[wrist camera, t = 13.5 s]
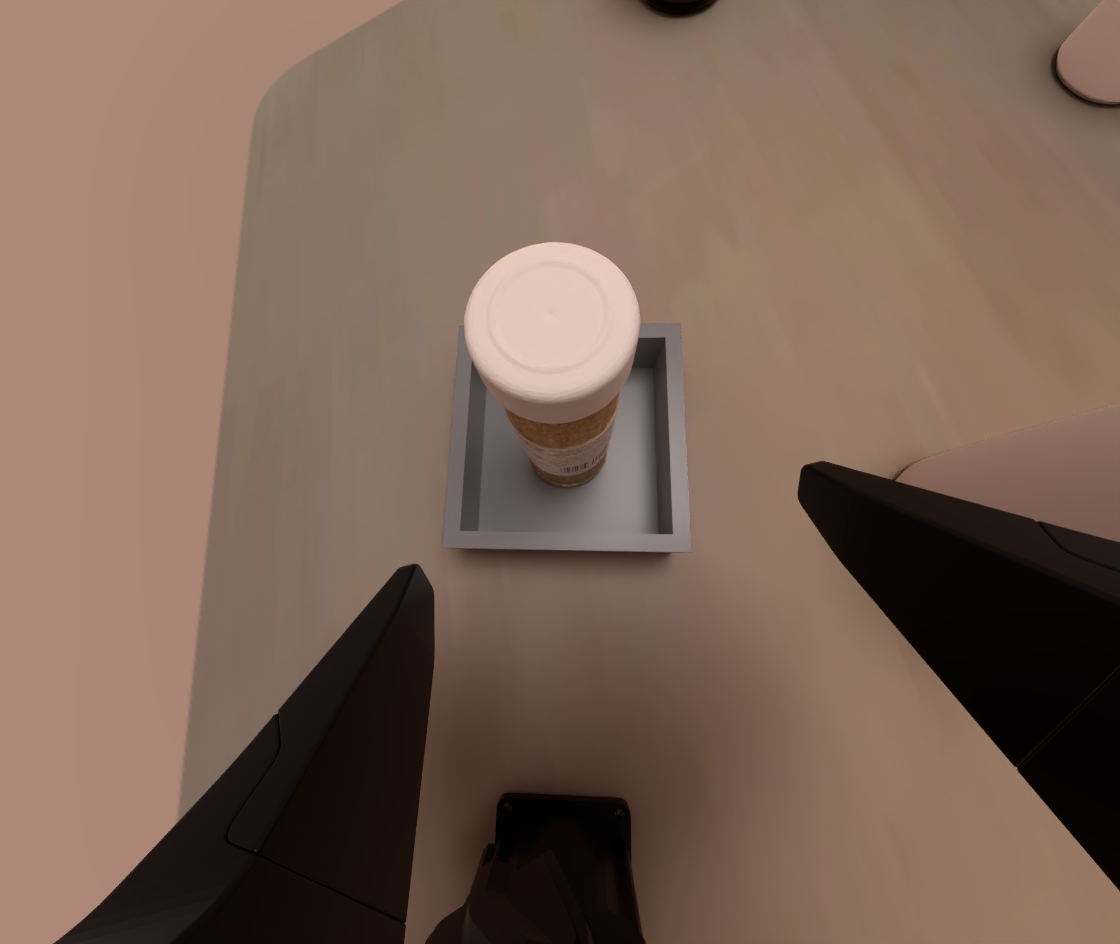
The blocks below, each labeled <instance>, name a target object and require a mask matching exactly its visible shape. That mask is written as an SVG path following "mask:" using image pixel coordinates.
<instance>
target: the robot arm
mask: <svg viewBox="0 0 1120 944" xmlns="http://www.w3.org/2000/svg"><path fill="white" fill-rule="evenodd" d="M798 500H799V502H800V504H801V506H802V507H803V509H804V510H805V512H806V513H807V514H808V516H809V517H810V519H811V520H812V522H813V523H814V525H815V526H816V528H817V529H818V531H819V532H820V534H821V535H822V536H823V538H824V539H825V541H826V542H827V544H828V545H829V547H830V548H831V550H832V551H833V552H834V554H835V555H836V556H837V558H838V559H839V560H840V561H841V563H842V564H843V565H844V566H845V568H846V569H847V570H848V571H849V572H850V574H851V575H852V576H853V577H854V578H855V579H856V581H857V582H858V583H859V584H860V585H861V586H862V588H863V589H864V590H865V591H866V592H867V594H868V595H869V596H870V597H871V598H872V599H873V601H874V602H875V603H876V604H877V605H878V606H879V608H880V609H881V610H882V611H883V612H884V614H885V615H886V616H887V617H888V618H889V619H890V621H891V622H892V623H893V624H894V625H895V627H896V628H897V629H898V630H899V631H900V632H901V634H902V635H903V636H904V637H905V638H906V639H907V641H908V642H909V643H910V644H911V645H912V647H913V648H914V649H915V650H916V651H917V652H918V654H919V655H920V656H921V657H922V658H923V659H924V661H925V662H926V663H927V664H928V665H929V667H930V668H931V669H932V670H933V671H934V672H935V674H936V675H937V676H938V677H939V678H940V680H941V681H942V682H943V683H944V684H945V685H946V687H947V688H948V689H949V690H950V691H951V692H952V694H953V695H954V696H955V697H956V698H957V700H958V701H959V702H960V703H961V704H962V705H963V707H964V708H965V709H966V710H967V711H968V712H969V714H970V715H971V716H972V717H973V718H974V720H975V721H976V722H977V723H978V724H979V725H980V727H981V728H982V729H983V730H984V731H985V733H986V734H987V735H988V736H989V737H990V738H991V740H992V741H993V742H994V743H995V744H996V745H997V747H998V748H999V749H1000V750H1001V751H1002V753H1003V754H1004V755H1005V756H1006V757H1007V758H1008V760H1009V761H1010V762H1011V763H1012V764H1013V765H1014V766H1015V767H1017V770H1018V772H1019V773H1020V774H1021V775H1022V777H1023V778H1024V779H1025V780H1026V781H1027V782H1028V784H1029V785H1030V786H1031V787H1032V788H1033V790H1034V791H1035V792H1036V793H1037V794H1038V795H1039V797H1040V798H1041V799H1042V800H1043V801H1044V802H1045V804H1046V805H1047V806H1048V807H1049V808H1050V810H1051V811H1052V812H1053V813H1054V814H1055V815H1056V817H1057V818H1058V819H1059V820H1060V821H1061V822H1062V824H1063V825H1064V826H1065V827H1066V828H1067V830H1068V831H1069V832H1070V833H1071V834H1072V835H1073V837H1074V838H1075V839H1076V840H1077V841H1078V842H1079V844H1080V845H1081V846H1082V847H1083V848H1084V850H1085V851H1086V852H1087V853H1088V854H1089V855H1090V857H1091V858H1092V859H1093V860H1094V861H1095V862H1096V864H1097V865H1098V866H1099V867H1100V868H1101V870H1102V871H1103V872H1104V873H1105V874H1106V875H1107V877H1108V878H1109V879H1110V880H1111V881H1112V883H1113V884H1114V885H1115V886H1116V887H1117V888H1118V890H1119V891H1120V542H1117V541H1113V540H1109V539H1105V538H1102V537H1098V536H1094V535H1090V534H1086V533H1083V532H1079V531H1075V530H1071V529H1068V528H1064V527H1060V526H1057V525H1053V524H1050V523H1046V522H1043V521H1037V522H1036V521H1035V520H1034V519H1031V518H1028V517H1024V516H1021V515H1017V514H1013V513H1010V512H1006V511H1002V510H999V509H995V508H992V507H988V506H984V505H981V504H977V503H973V502H970V501H966V500H963V499H959V498H955V497H952V496H948V495H945V494H941V493H937V492H934V491H930V490H926V489H923V488H919V487H916V486H912V485H908V484H905V483H901V482H897V481H894V480H890V479H887V478H883V477H879V476H876V475H872V474H869V473H865V472H861V471H858V470H854V469H851V468H847V467H843V466H840V465H836V464H832V463H829V462H825V461H818V462H814V463H810V464H807V465H805V466H803V468H802V469H801V474H800V480H799V487H798ZM434 651H435V639H434V591H433V588H432V586H431V584H430V582H429V580H428V579H427V577H426V575H425V573H424V572H423V570H422V568H421V567H420V566H419V565H418V564H411V565H407V566H403V567H400V568H399V569H398V570H397V571H396V572H395V573H394V574H393V575H392V576H391V578H390V579H389V580H388V581H387V582H386V584H385V585H384V586H383V587H382V588H381V589H380V591H379V592H378V593H377V594H376V595H375V597H374V598H373V599H372V600H371V601H370V602H369V604H368V605H367V606H366V607H365V608H364V610H363V611H362V612H361V613H360V614H359V615H358V617H357V618H356V619H355V620H354V621H353V623H352V624H351V625H350V626H349V627H348V628H347V630H346V631H345V632H344V633H343V634H342V636H341V637H340V638H339V639H338V640H337V641H336V643H335V644H334V645H333V646H332V647H331V649H330V650H329V651H328V652H327V653H326V654H325V656H324V657H323V658H322V659H321V660H320V662H319V663H318V664H317V665H316V666H315V667H314V669H313V670H312V671H311V672H310V673H309V675H308V676H307V677H306V678H305V679H304V680H303V682H302V683H301V684H300V685H299V686H298V688H297V689H296V690H295V691H294V692H293V693H292V695H291V696H290V697H289V698H288V699H287V701H286V702H285V703H284V704H283V705H282V706H281V708H280V709H279V710H278V714H275V715H274V716H273V717H272V718H271V719H270V720H269V722H268V723H267V724H266V725H265V726H264V728H263V729H262V730H261V731H260V732H259V733H258V735H257V736H256V737H255V738H254V739H253V740H252V742H251V743H250V744H249V745H248V746H247V747H246V748H245V750H244V751H243V752H242V753H241V754H240V755H239V756H238V758H237V759H236V760H235V761H234V762H233V763H232V764H231V766H230V767H229V768H228V769H227V770H226V771H225V772H224V773H223V774H222V775H221V776H220V778H219V779H218V780H217V781H216V782H215V783H214V784H213V785H212V786H211V787H210V788H209V789H208V791H207V792H206V793H205V794H204V795H203V796H202V797H201V798H200V799H199V800H198V801H197V802H196V804H195V805H194V806H193V807H192V808H191V809H190V810H189V811H188V812H187V813H186V814H185V815H184V816H183V817H182V818H181V819H180V820H179V822H178V823H177V824H176V825H175V826H174V827H173V828H172V829H171V830H170V831H169V832H168V833H167V834H166V835H165V836H164V838H163V839H162V840H161V841H160V842H159V843H158V844H157V845H156V846H155V847H154V848H153V849H152V850H151V851H150V852H149V853H148V854H147V856H146V857H145V858H144V859H143V860H142V861H141V862H140V863H139V864H138V865H137V866H136V867H135V868H134V869H133V871H132V872H130V874H129V875H128V876H127V877H126V878H125V879H124V880H123V881H122V882H121V883H120V884H119V885H118V886H117V887H116V888H115V889H114V890H113V891H112V892H111V893H110V895H108V896H107V898H106V899H104V901H102V903H101V904H100V905H98V906H97V907H96V908H95V909H94V910H93V911H92V912H91V913H90V914H89V915H88V916H86V917H85V918H84V919H83V920H82V921H81V922H80V923H79V924H77V925H76V926H75V927H74V928H72V930H70V931H69V932H68V933H66V934H65V935H64V936H63V937H61V938H60V939H59V940H57V941H56V942H55V943H53V944H404V938H405V929H406V925H405V924H404V923H405V922H406V917H407V908H408V899H409V890H410V880H411V871H412V862H413V853H414V844H415V835H416V825H417V816H418V807H419V798H420V789H421V780H422V770H423V761H424V752H425V743H426V734H427V725H428V715H429V706H430V697H431V688H432V679H433V669H434ZM505 803H508V804H510V805H511V806H512V809H510V810H507V809H505V808H504V806H503V805H504V804H505ZM618 809H622V810H623V811H624V814H623V815H621V816H618V815H616V814H615V812H616V811H617V810H618ZM425 944H646V942H645V940H644V938H643V934H642V928H641V922H640V916H639V910H638V904H637V898H636V892H635V886H634V880H633V874H632V868H631V815H630V810H629V806H628V804H627V802H626V801H625V800H623V799H620V798H604V797H585V796H565V795H545V794H526V793H505V794H503V795H502V796H501V797H500V799H499V802H498V805H497V815H496V838H495V844H488V845H487V846H486V848H485V849H484V851H483V854H482V857H481V860H480V863H479V866H478V869H477V873H476V876H475V879H474V882H473V885H472V888H471V891H470V894H469V895H468V897H467V900H466V902H465V904H464V905H463V906H462V907H460V908H459V909H457V910H456V911H454V912H453V913H451V914H450V915H448V916H447V917H445V918H444V919H443V920H441V921H440V922H439V924H438V925H437V926H436V928H435V929H434V931H433V933H432V934H431V935H430V936H429V937H428V939H427V940H426V943H425Z"/></svg>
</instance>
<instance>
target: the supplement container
mask: <svg viewBox="0 0 1120 944" xmlns="http://www.w3.org/2000/svg"><path fill="white" fill-rule="evenodd" d="M646 1H647V2H648V3H649V4H650V5H651V6H652V7H654V8H655V9H657V10H660V11H662V12H666V13H671V14H687V13H692V12H695V11H698V10H700V9H702V8H704V7H706V6H707V5H708V4H710V3H711V2H712V1H713V0H646Z"/></svg>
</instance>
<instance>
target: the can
mask: <svg viewBox="0 0 1120 944" xmlns="http://www.w3.org/2000/svg"><path fill="white" fill-rule="evenodd" d="M1056 74H1057V76H1058V78H1059V80H1060V82H1061V83H1062V84H1063V85H1064V86H1065V87H1066V88H1067V89H1068V90H1069V91H1071V92H1072V93H1073V94H1075V95H1076V96H1078V97H1080V98H1082V99H1084V100H1087V101H1089V102H1093V103H1097V104H1104V105H1117V104H1120V0H1102V1H1101V2H1100V3H1099V4H1098V5H1097V6H1096V7H1095V9H1094V10H1093V11H1092V12H1091V13H1090V14H1089V15H1088V16H1087V17H1086V18H1085V19H1084V20H1083V21H1082V22H1081V24H1080V25H1079V26H1078V27H1077V28H1076V29H1075V30H1074V31H1073V32H1072V33H1071V34H1070V35H1069V37H1068V38H1067V39H1066V40H1065V41H1064V42H1063V44H1062V45H1061V47H1060V49H1059V52H1058V56H1057V59H1056Z"/></svg>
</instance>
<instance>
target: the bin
mask: <svg viewBox="0 0 1120 944" xmlns="http://www.w3.org/2000/svg"><path fill="white" fill-rule="evenodd" d="M618 403H619V407H618V412H617V416H616V420H615V424H614V427H613V431H612V435H611V439H610V443H609V446H608V450H607V457H606V461H605V463H604V464H603V466H602V468H601V470H600V472H599V473H598V474H597V475H596V476H595V477H594V478H593V479H592V480H590V481H589V482H587V483H584V484H582V485H580V486H574V487H570V488H568V487H559V486H555V485H553V484H550V483H548V482H547V481H545V480H544V479H542V478H541V477H540V476H539V475H538V474H537V472H536V471H535V470H534V468H533V466H532V464H531V461H530V458H529V456H528V455H527V453H526V451H525V449H524V447H523V445H522V444H521V442H520V440H519V438H518V436H517V434H516V432H515V430H514V428H513V427H512V425H511V423H510V421H509V419H508V417H507V415H506V412H505V408H504V406H502V405H501V404H500V403H499V402H498V401H497V400H496V399H495V398H494V397H493V396H492V394H491V393H490V392H489V390H488V389H487V387H486V386H485V384H484V383H483V381H482V379H481V377H480V375H479V373H478V371H477V369H476V367H475V365H474V363H473V361H472V359H471V357H470V355H469V352H468V349H467V345H466V340H465V334H464V326H459V334H458V347H457V360H456V373H455V386H454V399H453V412H452V425H451V438H450V451H449V464H448V477H447V490H446V503H445V516H444V529H443V542H442V548H458V549H499V550H553V551H606V552H659V553H684V552H691V534H690V513H689V491H688V470H687V449H686V427H685V406H684V385H683V363H682V342H681V323H649V324H640V329H639V337H638V343H637V347H636V352H635V356H634V360H633V365H632V368H631V371H630V373H629V376H628V378H627V380H626V382H625V384H624V385H623V387H622V389H621V390H620V393H619V398H618Z"/></svg>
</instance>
